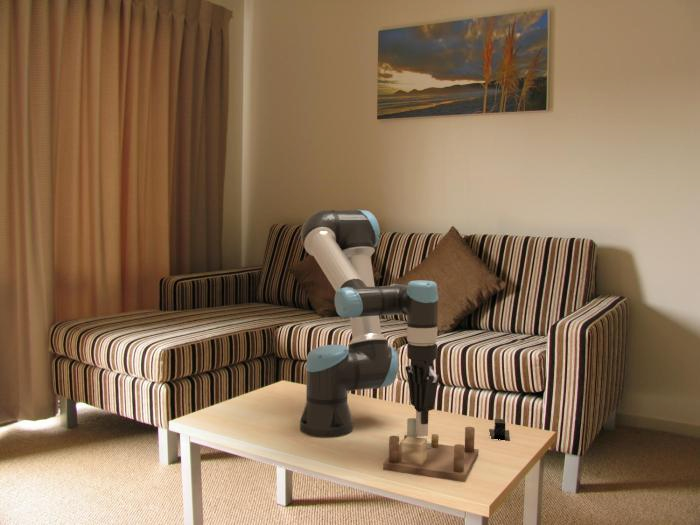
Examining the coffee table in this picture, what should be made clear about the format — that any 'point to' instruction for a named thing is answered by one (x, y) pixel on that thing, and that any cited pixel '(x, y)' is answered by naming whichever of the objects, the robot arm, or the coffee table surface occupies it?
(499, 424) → the black bracket plate
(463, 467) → the stool board
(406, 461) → the maple block
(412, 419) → the gate leg
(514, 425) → the coffee table surface
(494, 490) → the coffee table surface
